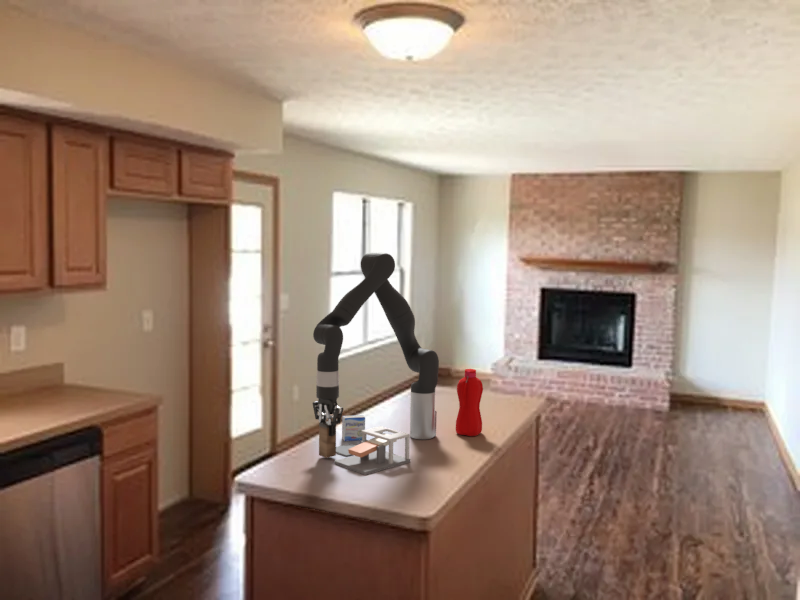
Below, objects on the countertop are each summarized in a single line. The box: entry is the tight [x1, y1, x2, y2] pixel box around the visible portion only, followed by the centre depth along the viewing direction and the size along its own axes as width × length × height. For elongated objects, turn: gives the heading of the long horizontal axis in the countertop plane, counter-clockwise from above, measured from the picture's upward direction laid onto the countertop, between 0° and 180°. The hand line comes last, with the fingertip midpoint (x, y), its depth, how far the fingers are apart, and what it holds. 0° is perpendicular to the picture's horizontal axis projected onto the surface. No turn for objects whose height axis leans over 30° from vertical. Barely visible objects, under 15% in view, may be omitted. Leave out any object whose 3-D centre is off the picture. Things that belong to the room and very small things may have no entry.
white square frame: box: [334, 425, 411, 476], centre depth 235 cm, size 20×15×9 cm
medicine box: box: [341, 414, 366, 442], centre depth 263 cm, size 8×4×9 cm, turn 105°
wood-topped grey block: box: [318, 420, 337, 459], centre depth 239 cm, size 4×4×11 cm
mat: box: [336, 443, 356, 458], centre depth 249 cm, size 10×10×1 cm
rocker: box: [348, 432, 398, 457], centre depth 235 cm, size 16×6×2 cm, turn 134°
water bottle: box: [455, 368, 484, 437], centre depth 273 cm, size 9×11×25 cm
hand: (327, 434), depth 239 cm, fingers closed on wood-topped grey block, 4 cm apart
